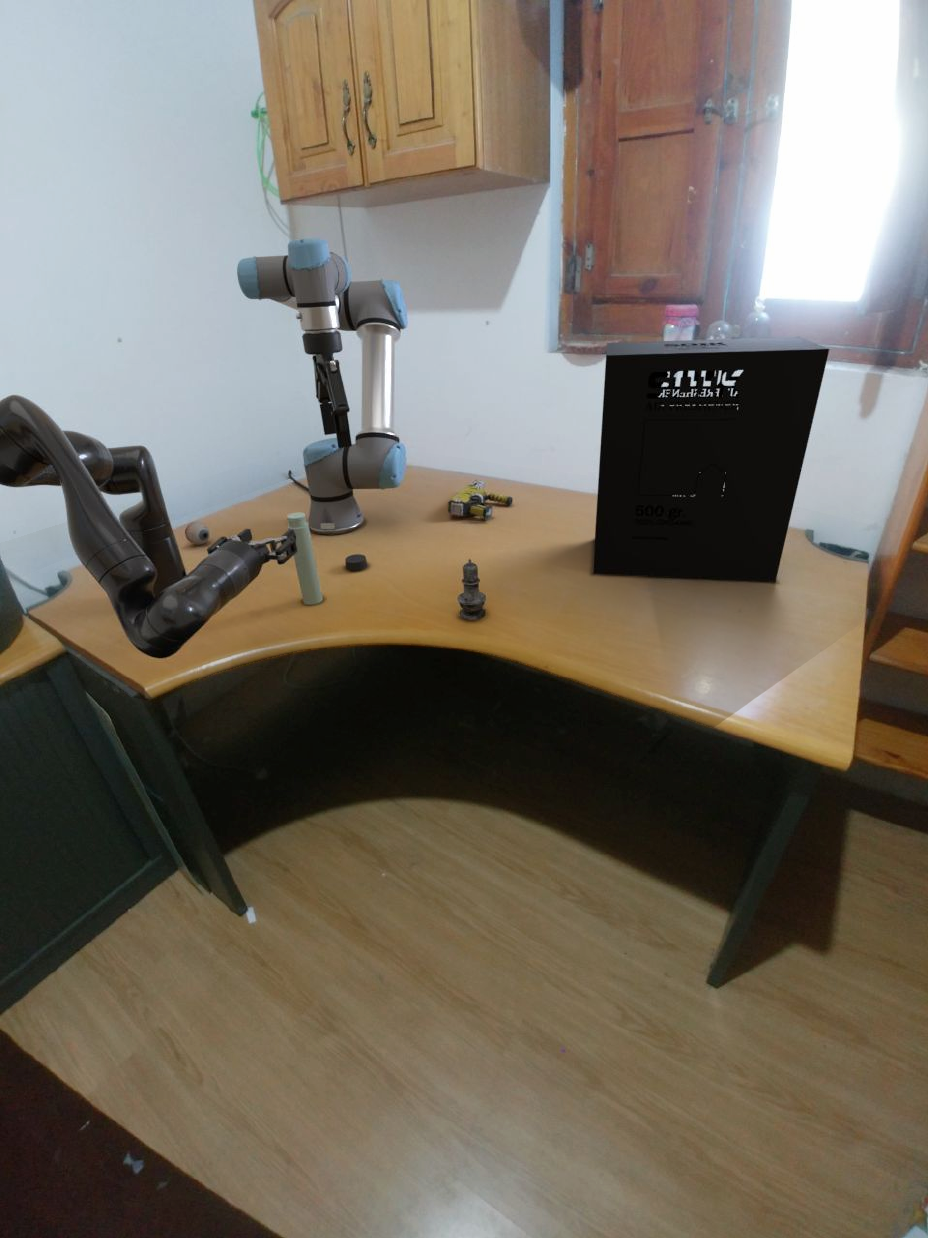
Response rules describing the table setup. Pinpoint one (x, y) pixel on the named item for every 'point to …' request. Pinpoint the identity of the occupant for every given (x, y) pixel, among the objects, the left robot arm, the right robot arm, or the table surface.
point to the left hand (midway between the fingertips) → (270, 533)
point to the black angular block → (703, 455)
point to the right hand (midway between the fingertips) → (337, 440)
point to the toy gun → (475, 501)
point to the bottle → (305, 559)
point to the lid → (356, 562)
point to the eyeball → (197, 533)
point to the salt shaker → (471, 594)
